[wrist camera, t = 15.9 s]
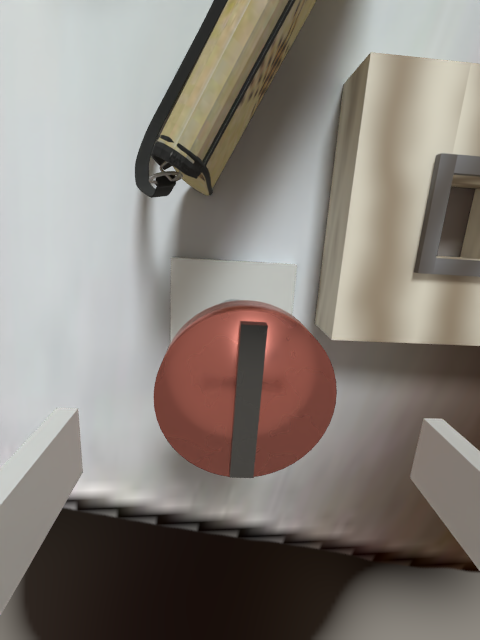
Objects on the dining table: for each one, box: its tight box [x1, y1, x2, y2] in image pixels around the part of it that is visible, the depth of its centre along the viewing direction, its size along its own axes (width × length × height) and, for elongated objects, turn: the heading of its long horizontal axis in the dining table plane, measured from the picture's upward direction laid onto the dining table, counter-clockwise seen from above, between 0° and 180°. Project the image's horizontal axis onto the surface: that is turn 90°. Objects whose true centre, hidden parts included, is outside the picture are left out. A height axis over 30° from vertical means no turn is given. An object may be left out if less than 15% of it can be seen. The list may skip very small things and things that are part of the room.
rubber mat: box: [170, 257, 297, 343], centre depth 31 cm, size 11×11×1 cm
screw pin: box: [154, 299, 337, 478], centre depth 23 cm, size 9×9×15 cm
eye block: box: [315, 52, 480, 346], centre depth 27 cm, size 20×20×6 cm
